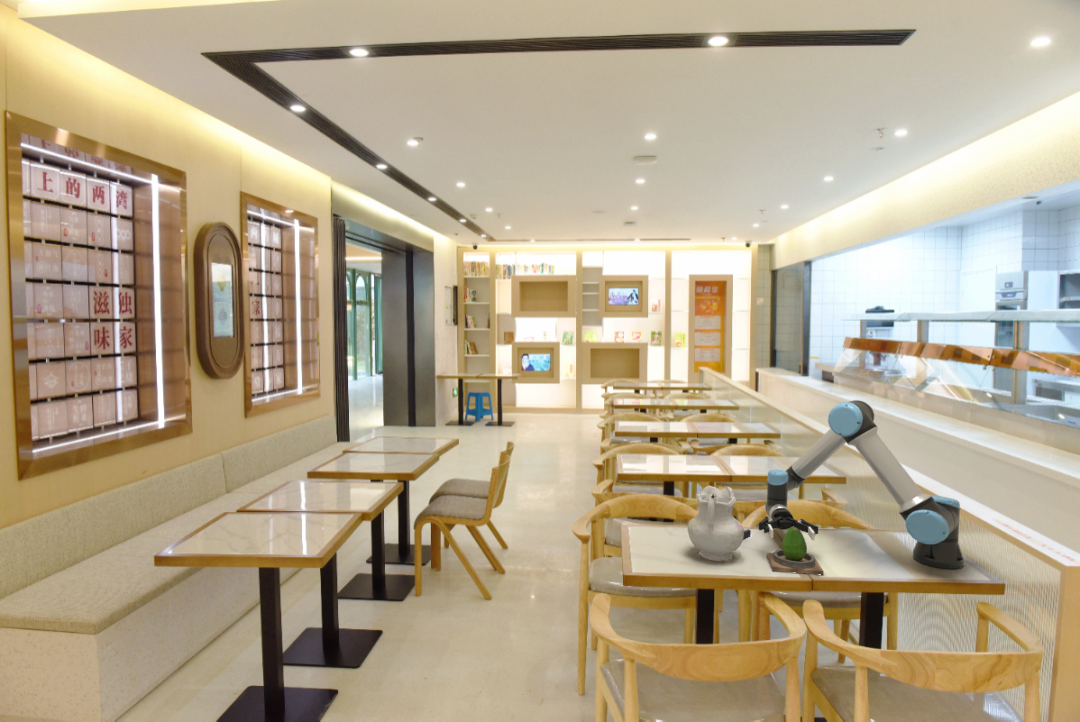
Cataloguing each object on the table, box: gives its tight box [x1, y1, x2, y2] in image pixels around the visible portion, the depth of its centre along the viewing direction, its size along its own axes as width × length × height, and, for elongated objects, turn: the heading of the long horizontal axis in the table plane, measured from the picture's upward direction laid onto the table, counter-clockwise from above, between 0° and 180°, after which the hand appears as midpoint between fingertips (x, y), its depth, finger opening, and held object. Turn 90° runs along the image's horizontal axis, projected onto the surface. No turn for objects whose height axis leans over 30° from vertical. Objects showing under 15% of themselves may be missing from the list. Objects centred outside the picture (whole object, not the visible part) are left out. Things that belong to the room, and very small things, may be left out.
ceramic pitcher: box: [687, 485, 744, 562], centre depth 221 cm, size 22×20×25 cm
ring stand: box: [765, 548, 825, 576], centre depth 214 cm, size 16×14×4 cm
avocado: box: [781, 526, 808, 561], centre depth 214 cm, size 8×8×12 cm
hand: (792, 535), depth 215 cm, fingers open, 13 cm apart
